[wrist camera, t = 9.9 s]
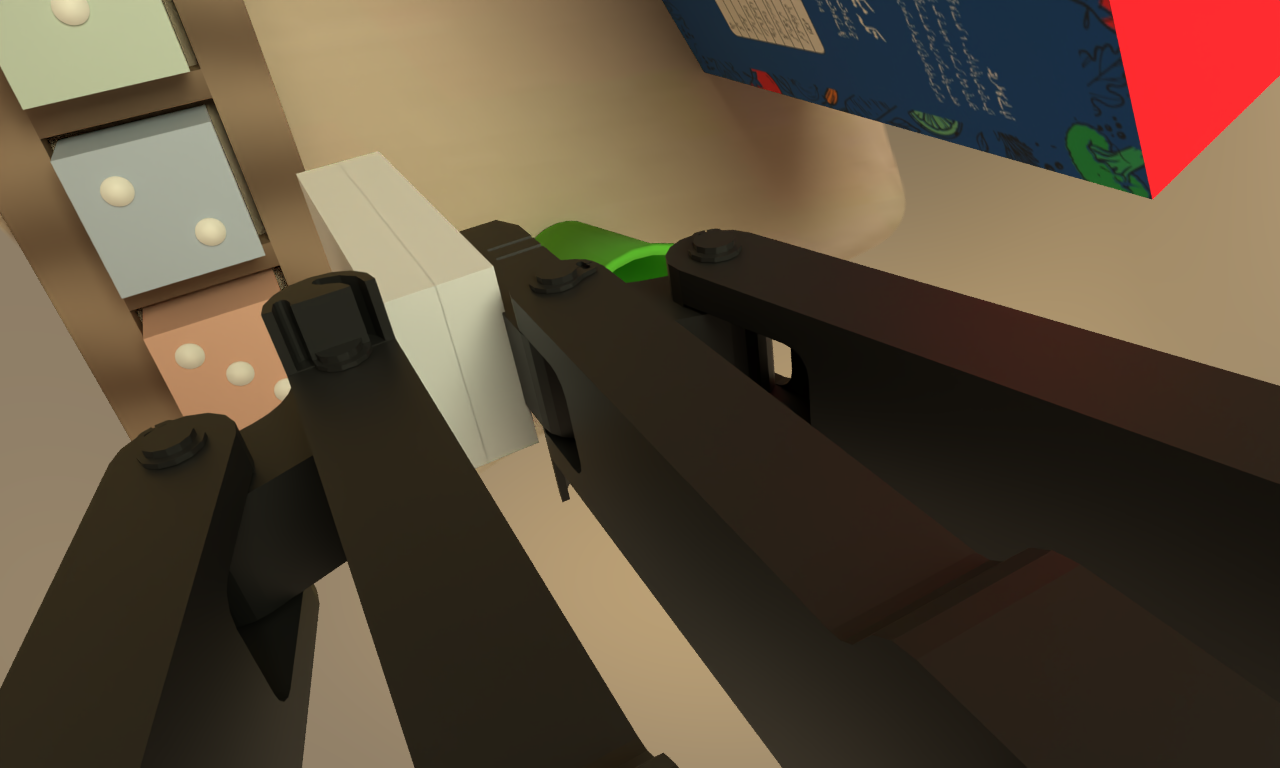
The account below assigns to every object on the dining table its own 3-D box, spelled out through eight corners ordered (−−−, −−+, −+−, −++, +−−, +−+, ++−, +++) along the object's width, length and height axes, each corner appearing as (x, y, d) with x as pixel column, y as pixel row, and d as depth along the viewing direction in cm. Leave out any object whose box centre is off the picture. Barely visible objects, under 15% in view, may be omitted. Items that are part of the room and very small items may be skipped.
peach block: (142, 306, 41) (143, 340, 38) (271, 266, 43) (282, 296, 40) (195, 410, 44) (200, 449, 41) (313, 369, 46) (326, 404, 43)
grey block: (57, 140, 37) (49, 162, 33) (205, 104, 39) (210, 122, 35) (123, 268, 40) (121, 300, 37) (256, 229, 42) (265, 256, 39)
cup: (535, 362, 53) (612, 450, 44) (459, 242, 47) (531, 317, 38) (654, 280, 54) (752, 350, 45) (594, 154, 48) (692, 207, 40)
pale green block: (-50, -70, 32) (-71, -68, 29) (121, -99, 34) (120, -100, 31) (33, 92, 36) (22, 110, 32) (185, 57, 38) (190, 72, 34)
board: (-159, -86, 31) (-171, -86, 30) (190, -140, 35) (191, -142, 34) (141, 445, 44) (142, 459, 43) (373, 363, 48) (378, 374, 47)
